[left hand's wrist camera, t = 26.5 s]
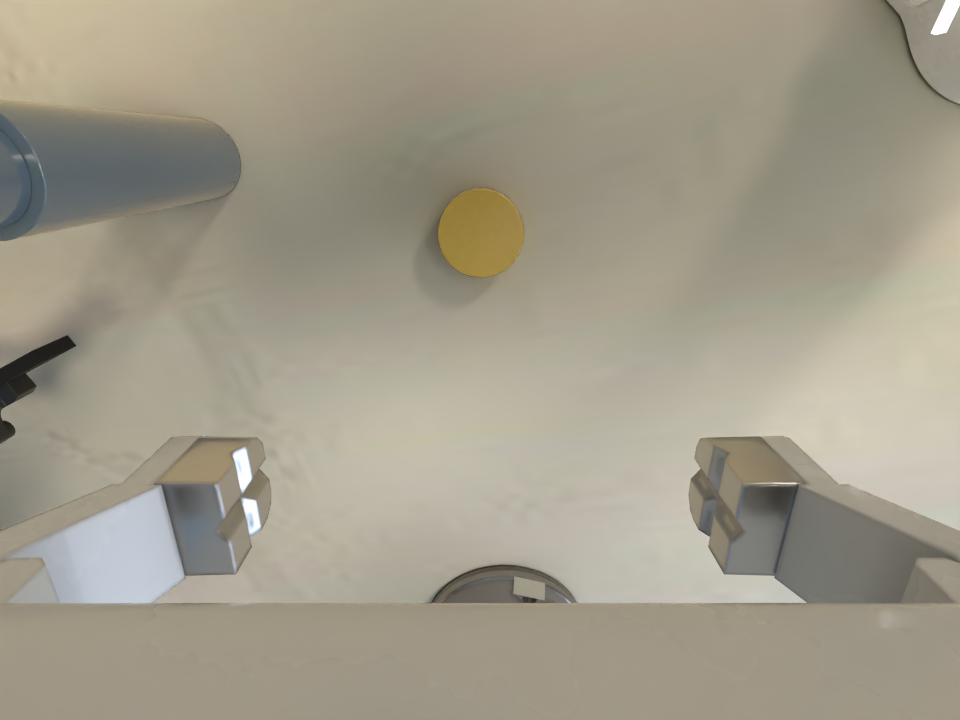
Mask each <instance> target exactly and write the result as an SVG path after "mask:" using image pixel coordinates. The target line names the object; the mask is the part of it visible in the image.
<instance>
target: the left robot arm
mask: <svg viewBox="0 0 960 720" xmlns="http://www.w3.org/2000/svg"><path fill="white" fill-rule="evenodd" d="M887 1H888V3H889V4H890V5H891V6H892V7H893V8H894V9H895V10H896V11H897V13H898V14H899V15H900V16H901V19H902V21H903V24H904V27H905V30H906V35H907V39H908V43H909V47H910V50H911V53H912V56H913V59H914V61H915V64H916V65H917V67H918V69H919V71H920V73H921V74H922V76H923V77H924V79H925V80H926V81H927V82H928V83H929V85H930V86H931V87H932V88H933V89H935V90H936V91H937V92H938V93H939V94H941V95H942V96H944V97H945V98H947V99H949V100H951V101H953V102H955V103H958V104H960V0H887ZM265 459H266V457H265V453H264V448H263V443H262V442H261V441H260V440H259V439H258V438H257V437H209V436H205V437H203V436H179V437H171V438H170V439H169V440H168V441H167V442H166V443H165V444H164V445H163V446H162V447H161V448H160V449H158V450H157V451H156V452H155V453H154V454H153V455H152V456H151V457H150V458H149V459H148V460H147V461H146V462H144V463H143V464H142V465H141V466H140V467H139V468H138V469H137V470H136V471H135V472H134V473H133V474H132V475H131V476H129V477H128V478H127V479H126V480H125V481H124V482H123V483H122V484H121V485H110V486H107V487H105V488H102V489H100V490H98V491H95V492H93V493H90V494H88V495H86V496H83V497H81V498H78V499H76V500H73V501H71V502H69V503H66V504H64V505H61V506H59V507H57V508H54V509H52V510H49V511H47V512H45V513H42V514H40V515H37V516H35V517H33V518H30V519H28V520H25V521H23V522H21V523H18V524H16V525H13V526H11V527H9V528H6V529H4V530H1V531H0V720H960V531H958V530H956V529H954V528H951V527H949V526H946V525H944V524H942V523H939V522H937V521H934V520H932V519H930V518H927V517H925V516H922V515H920V514H918V513H915V512H913V511H910V510H908V509H906V508H903V507H901V506H898V505H896V504H894V503H891V502H889V501H886V500H884V499H882V498H879V497H877V496H874V495H872V494H870V493H867V492H865V491H862V490H860V489H858V488H855V487H853V486H850V485H839V484H838V483H837V482H836V481H835V480H834V479H833V478H832V477H831V476H830V475H828V474H827V473H826V472H825V471H824V470H823V469H822V468H821V467H820V466H819V465H818V464H817V463H816V462H815V461H813V460H812V459H811V458H810V457H809V456H808V455H807V454H806V453H805V452H804V451H803V450H802V449H801V448H800V447H799V446H797V445H796V444H795V443H794V442H793V441H792V440H791V439H790V438H788V437H784V436H764V437H760V436H759V437H717V438H701V439H700V440H699V442H698V445H697V447H696V452H695V457H694V459H695V460H696V462H697V463H698V465H699V467H700V468H701V469H700V470H699V471H698V472H697V473H696V474H695V475H694V476H693V477H692V478H691V481H690V488H689V504H690V511H691V514H692V517H693V520H694V522H695V524H696V526H697V528H698V530H700V531H702V532H703V533H705V534H706V535H708V536H709V537H710V540H709V546H708V547H709V549H710V551H711V552H712V554H713V556H714V557H715V559H716V561H717V563H718V564H719V566H720V568H721V570H722V571H723V573H724V574H734V575H771V576H775V579H777V580H778V581H779V582H781V583H782V584H783V585H785V586H786V587H787V588H789V589H790V590H791V591H793V592H794V593H795V594H797V595H798V596H799V597H800V598H802V599H803V600H804V601H806V602H807V603H153V602H154V601H156V600H157V599H158V598H160V597H161V596H162V595H164V594H165V593H166V592H168V591H169V590H170V589H172V588H173V587H174V586H176V585H177V584H178V583H180V582H181V581H182V580H183V579H185V576H189V575H225V574H236V573H237V571H238V570H239V568H240V566H241V564H242V563H243V561H244V559H245V558H246V556H247V554H248V552H249V551H250V549H251V547H252V546H251V540H250V537H251V536H252V535H254V534H255V533H257V532H258V531H260V530H262V528H263V526H264V524H265V522H266V520H267V518H268V514H269V510H270V505H271V487H270V481H269V478H268V477H267V476H266V475H265V474H264V473H263V472H262V471H261V470H260V469H259V468H260V467H261V465H262V464H263V462H264V460H265Z"/></svg>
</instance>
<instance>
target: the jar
mask: <svg viewBox="0 0 960 720" xmlns="http://www.w3.org/2000/svg"><path fill="white" fill-rule="evenodd" d="M240 171H241V162H240V156H239V153H238V150H237V148H236V145H235V144H234V142H233V140H232V139H231V138H230V136H229V135H228V134H227V133H226V132H225V131H224V130H223V129H222V128H221V127H219V126H218V125H216V124H214V123H212V122H210V121H207V120H204V119H198V118H188V117H177V116H167V115H156V114H146V113H135V112H125V111H114V110H104V109H93V108H83V107H72V106H62V105H51V104H41V103H30V102H20V101H9V100H0V241H7V240H12V239H17V238H22V237H27V236H32V235H37V234H42V233H47V232H52V231H57V230H62V229H67V228H72V227H77V226H82V225H87V224H92V223H97V222H102V221H107V220H112V219H117V218H122V217H127V216H132V215H137V214H142V213H147V212H152V211H157V210H162V209H167V208H172V207H177V206H182V205H187V204H192V203H197V202H202V201H207V200H212V199H216V198H220V197H223V196H225V195H226V194H228V193H229V192H230V191H231V190H232V189H233V188H234V187H235V185H236V184H237V182H238V179H239V176H240Z"/></svg>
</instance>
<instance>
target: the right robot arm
mask: <svg viewBox="0 0 960 720" xmlns="http://www.w3.org/2000/svg"><path fill="white" fill-rule="evenodd" d="M75 346H76V345H75V344H74V342H73V341H72V340H71V339H70V337H69V336H68V335H67V336H65V337H62V338H60V339H58V340H56V341H53V342H51V343H49V344H47V345H44V346H42V347H40V348H38V349H35V350H33V351H31V352H29V353H28V354H26V355H24V356H22V357H20V358H18V359H17V360H15V361H13V362H11V363H9V364H8V365H6V366H4V367H2V368H0V444H1V443H2V442H4V441H6V440H7V439H9V438H10V437H12V436H13V435H14V434H15V428H14V426H13V425H12V424H11V423H9V422H7V421H3V420H2V418H1V410H2V409H3V408H4V407H6V406H8V405H10V404H11V403H13V402H15V401H17V400H19V399H21V398H23V397H24V396H26V395H28V394H30V393H32V392H33V391H34V389H35V388H36V385H35V384H34V382H33V381H32V380H31V379H30V378H29V377H28V376H27V374H26V373H27V372H29V371H31V370H33V369H34V368H36V367H38V366H40V365H42V364H44V363H45V362H47V361H49V360H51V359H53V358H55V357H57V356H58V355H60V354H62V353H64V352H66V351H68V350H69V349H71V348H73V347H75ZM432 603H577V602H576V600H575V599H574V597H573V596H572V595H571V593H570V592H569V591H568V590H567V589H566V588H565V587H564V586H563V585H562V584H560V583H559V582H558V581H556V580H555V579H553V578H551V577H549V576H547V575H545V574H543V573H540V572H538V571H534V570H531V569H527V568H522V567H513V566H497V567H489V568H483V569H479V570H476V571H473V572H470V573H467V574H465V575H463V576H461V577H459V578H457V579H455V580H454V581H452V582H451V583H449V584H448V585H447V586H446V587H445V588H443V589H442V590H441V592H440V593H439V594H438V595H437V596H436V598H435V599H434V601H433V602H432Z"/></svg>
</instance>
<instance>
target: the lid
mask: <svg viewBox="0 0 960 720" xmlns="http://www.w3.org/2000/svg"><path fill="white" fill-rule="evenodd" d="M523 240H524V227H523V222H522V219H521V216H520V214H519V212H518V210H517V209H516V207H515V206H514V204H513V203H512V202H511V201H510V200H509V199H508V198H507V197H506V196H505V195H503V194H501V193H500V192H498V191H495V190H492V189H488V188H474V189H470V190H467V191H464V192H462V193H460V194H459V195H457V196H456V197H455V198H454V199H453V200H452V201H451V202H450V203H449V204H448V205H447V207H446V208H445V210H444V212H443V214H442V216H441V219H440V222H439V226H438V241H439V246H440V249H441V251H442V254H443V255H444V257H445V259H446V260H447V261H448V263H449V264H450V265H451V266H452V267H453V268H455V269H456V270H458V271H459V272H461V273H463V274H465V275H468V276H472V277H490V276H494V275H496V274H499V273H501V272H503V271H504V270H506V269H507V268H508V267H509V266H510V265H512V264H513V262H514V261H515V260H516V258H517V257H518V255H519V253H520V251H521V249H522V245H523Z"/></svg>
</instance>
